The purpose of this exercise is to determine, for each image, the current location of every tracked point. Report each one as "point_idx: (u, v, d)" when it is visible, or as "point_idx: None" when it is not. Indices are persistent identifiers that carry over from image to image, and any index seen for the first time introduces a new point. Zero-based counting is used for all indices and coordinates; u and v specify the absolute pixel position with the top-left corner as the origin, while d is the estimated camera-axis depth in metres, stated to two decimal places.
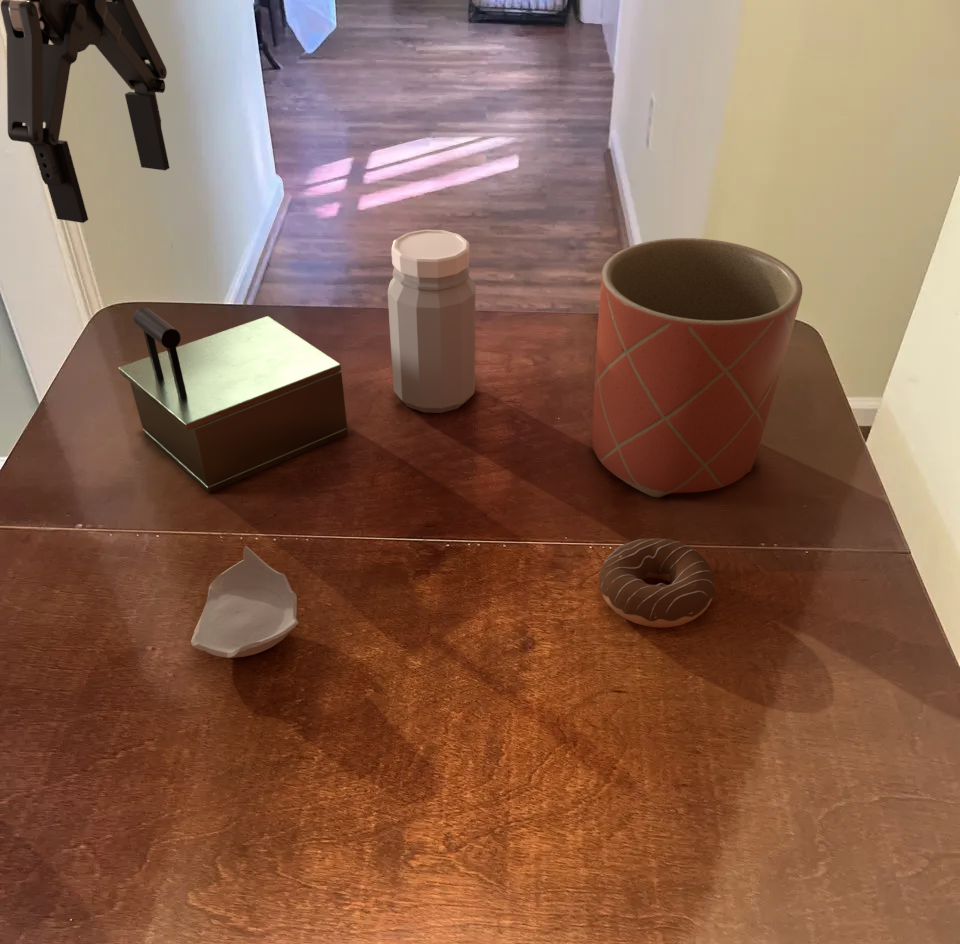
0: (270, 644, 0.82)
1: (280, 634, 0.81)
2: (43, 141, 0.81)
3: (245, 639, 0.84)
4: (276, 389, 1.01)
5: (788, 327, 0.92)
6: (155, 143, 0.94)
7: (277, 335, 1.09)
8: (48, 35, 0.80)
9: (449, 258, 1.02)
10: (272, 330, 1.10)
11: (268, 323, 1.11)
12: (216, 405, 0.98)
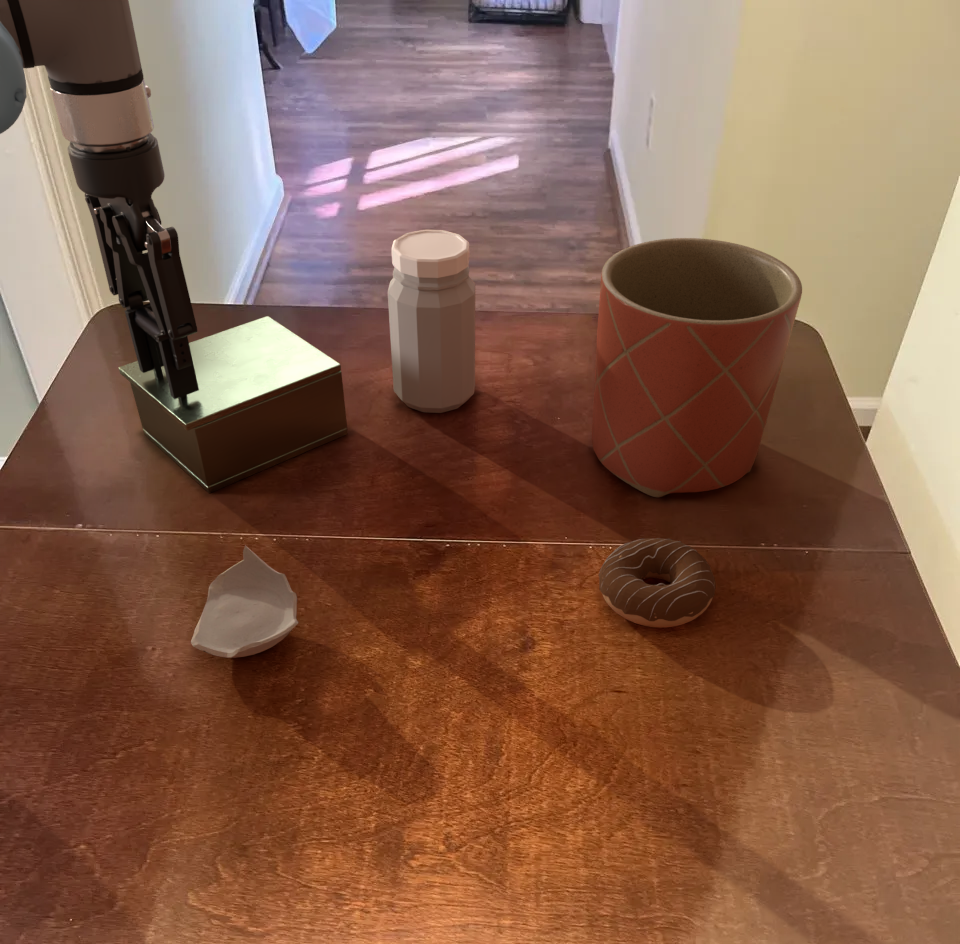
0: (270, 644, 0.82)
1: (280, 634, 0.81)
2: None
3: (245, 639, 0.84)
4: (276, 389, 1.01)
5: (788, 327, 0.92)
6: (157, 344, 1.01)
7: (277, 335, 1.09)
8: None
9: (449, 258, 1.02)
10: (272, 330, 1.10)
11: (268, 323, 1.11)
12: (216, 405, 0.98)
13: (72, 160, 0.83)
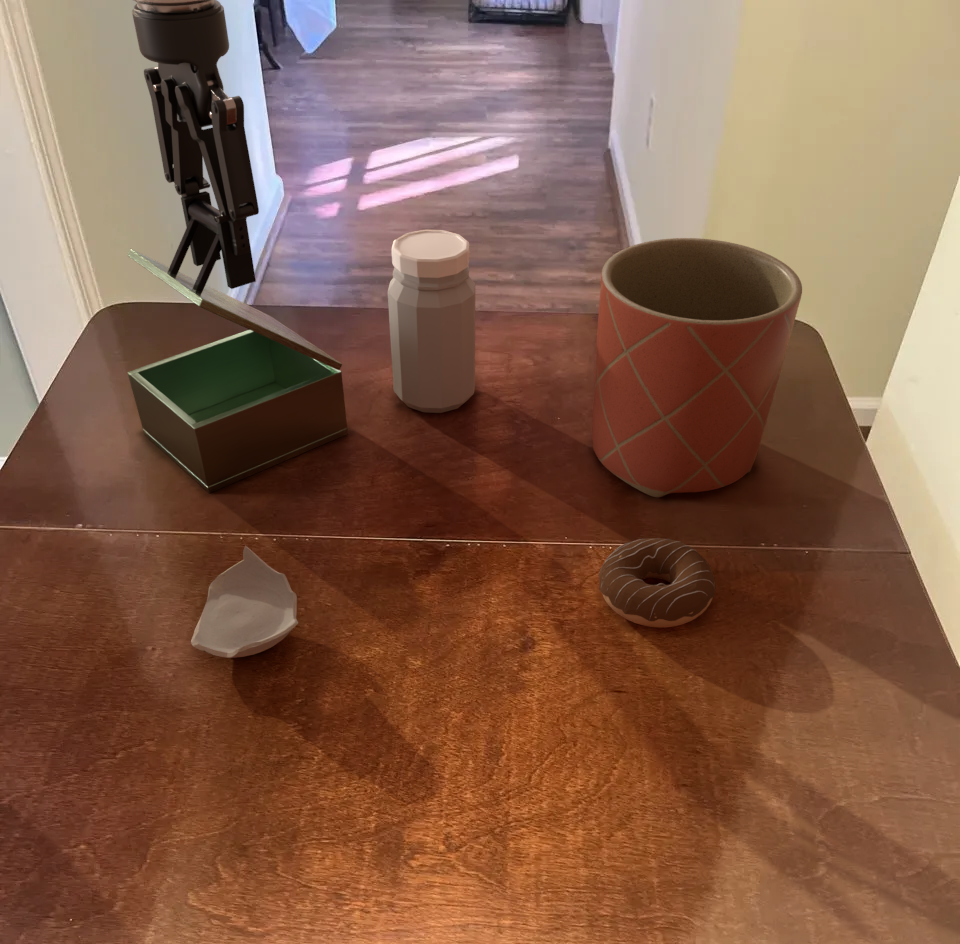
0: (270, 644, 0.82)
1: (280, 634, 0.81)
2: (245, 217, 0.91)
3: (245, 639, 0.84)
4: (286, 338, 0.98)
5: (788, 327, 0.92)
6: (212, 236, 0.98)
7: (281, 325, 1.09)
8: None
9: (449, 258, 1.02)
10: (275, 321, 1.10)
11: (271, 317, 1.11)
12: (231, 310, 0.94)
13: (137, 23, 0.81)
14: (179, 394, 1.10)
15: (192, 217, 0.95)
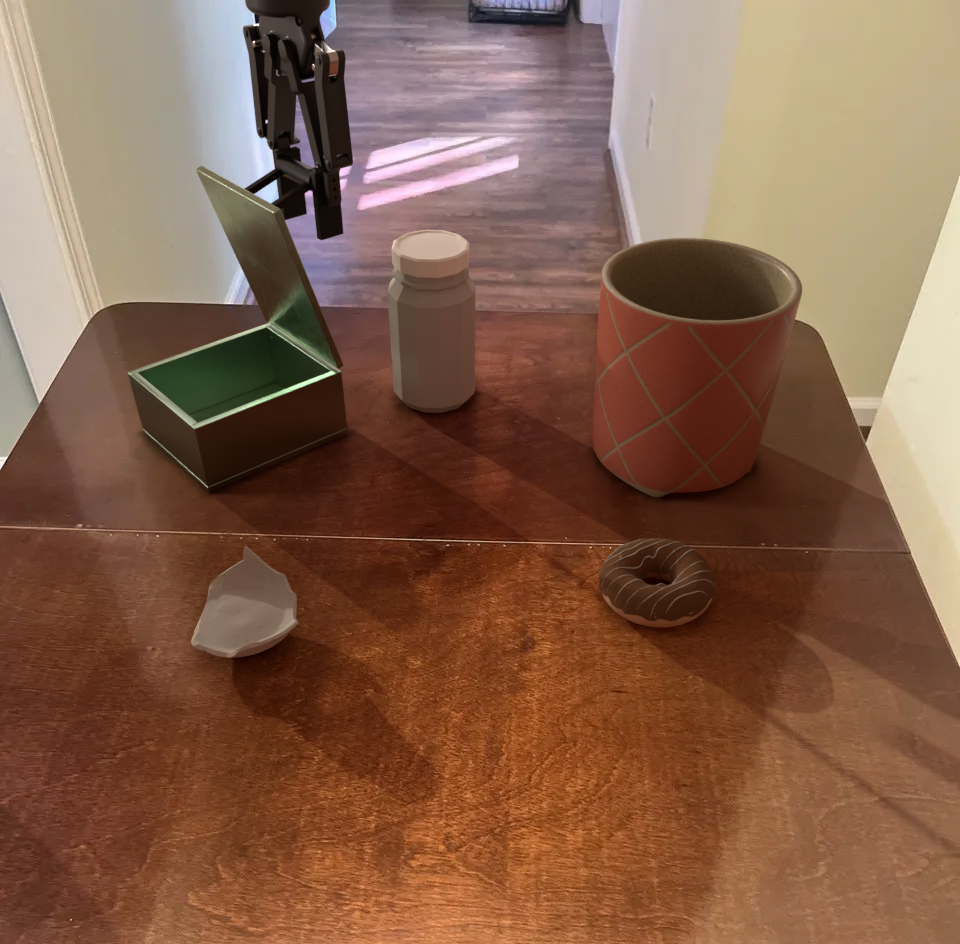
0: (270, 644, 0.82)
1: (280, 634, 0.81)
2: (339, 168, 0.95)
3: (245, 639, 0.84)
4: (317, 303, 0.99)
5: (788, 327, 0.92)
6: None
7: None
8: None
9: (449, 258, 1.02)
10: None
11: None
12: None
13: None
14: (179, 394, 1.10)
15: (279, 166, 0.98)
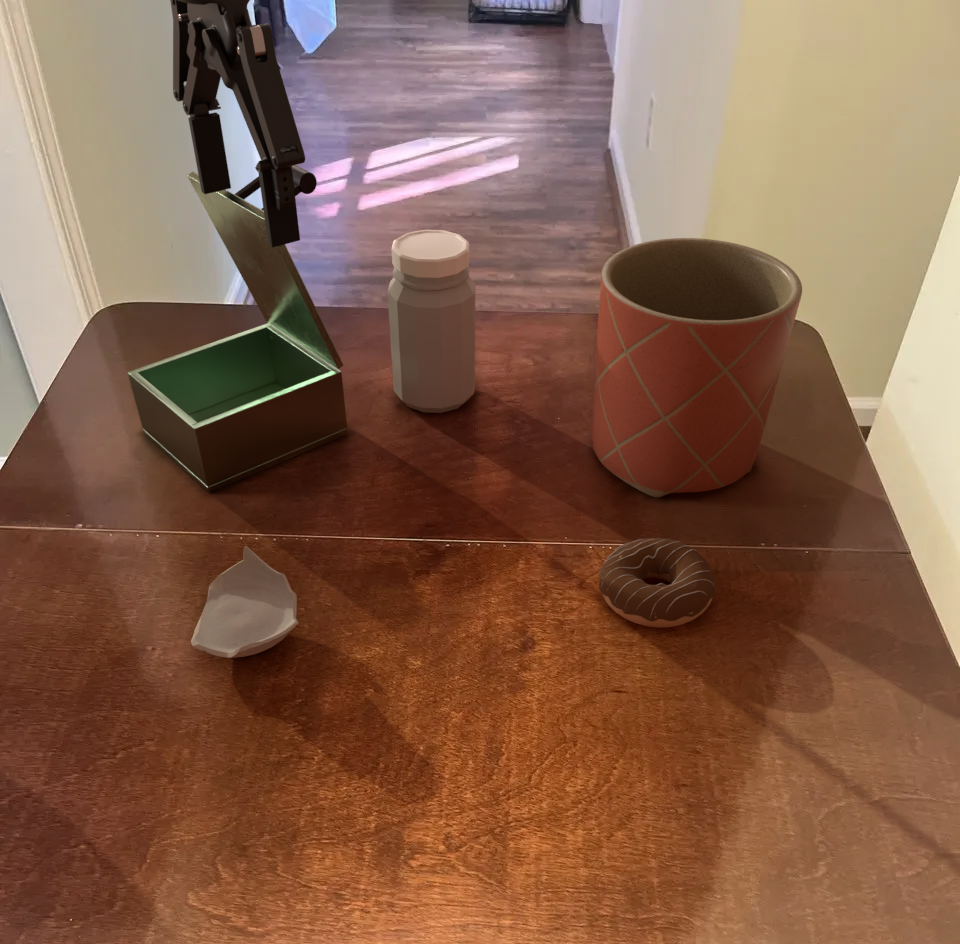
0: (270, 644, 0.82)
1: (280, 634, 0.81)
2: None
3: (245, 639, 0.84)
4: (314, 305, 0.98)
5: (788, 327, 0.92)
6: (222, 162, 0.92)
7: None
8: (234, 61, 0.78)
9: (449, 258, 1.02)
10: None
11: None
12: None
13: None
14: (179, 394, 1.10)
15: None
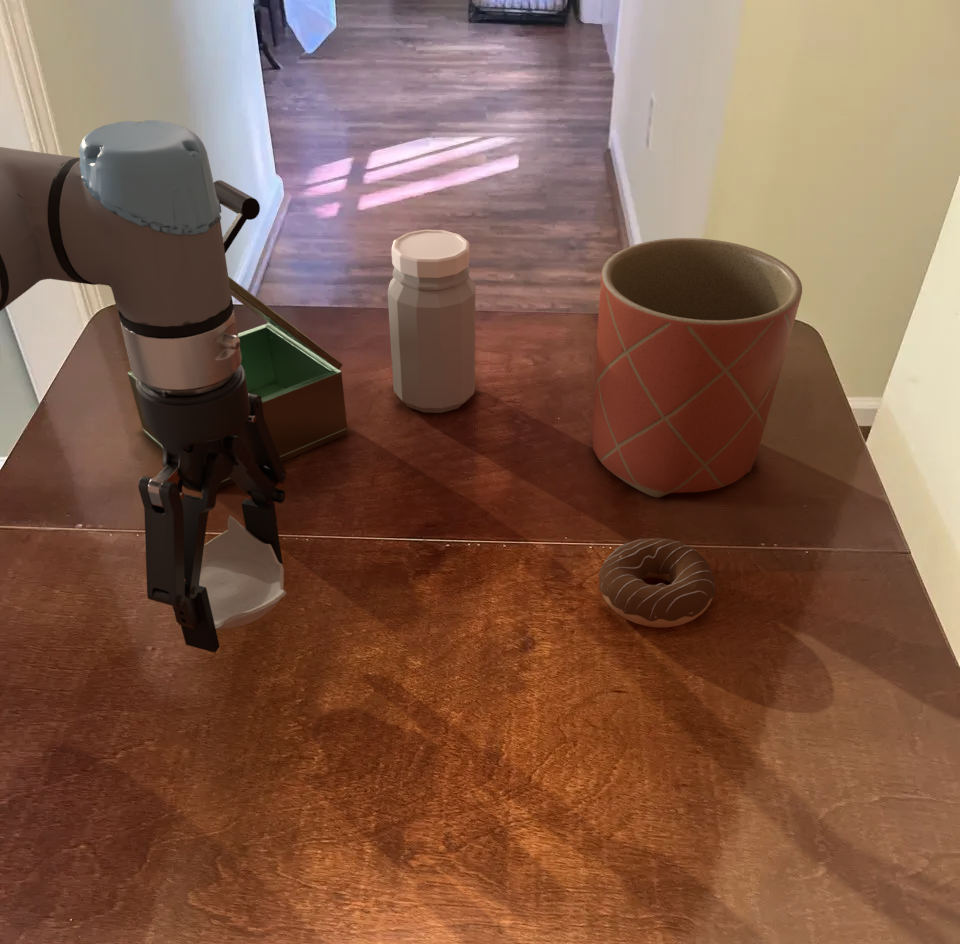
0: (257, 616, 0.79)
1: (267, 605, 0.78)
2: None
3: (230, 611, 0.81)
4: (293, 327, 0.98)
5: (788, 327, 0.92)
6: None
7: None
8: None
9: (449, 258, 1.02)
10: None
11: None
12: None
13: None
14: None
15: None
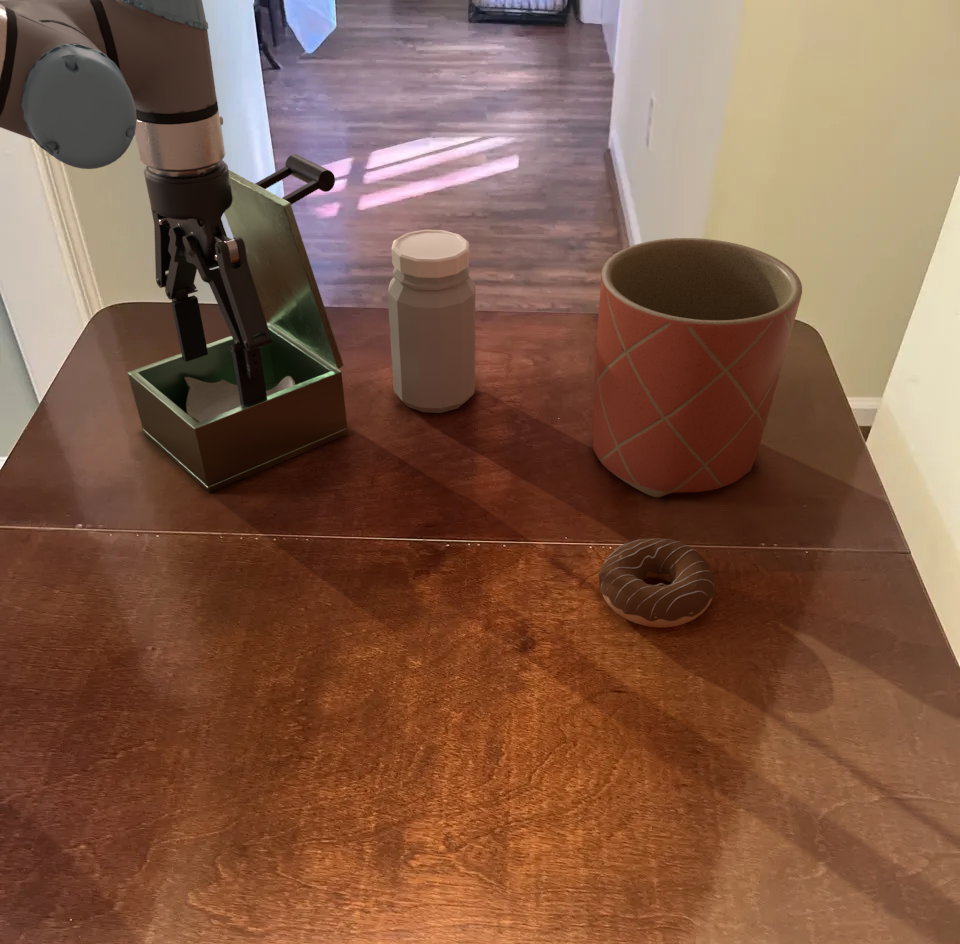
0: None
1: (294, 384, 1.07)
2: None
3: None
4: (321, 300, 0.99)
5: (788, 327, 0.92)
6: (200, 335, 1.06)
7: None
8: (210, 261, 0.93)
9: (449, 258, 1.02)
10: None
11: None
12: None
13: (149, 183, 0.89)
14: (179, 394, 1.10)
15: (289, 165, 0.99)
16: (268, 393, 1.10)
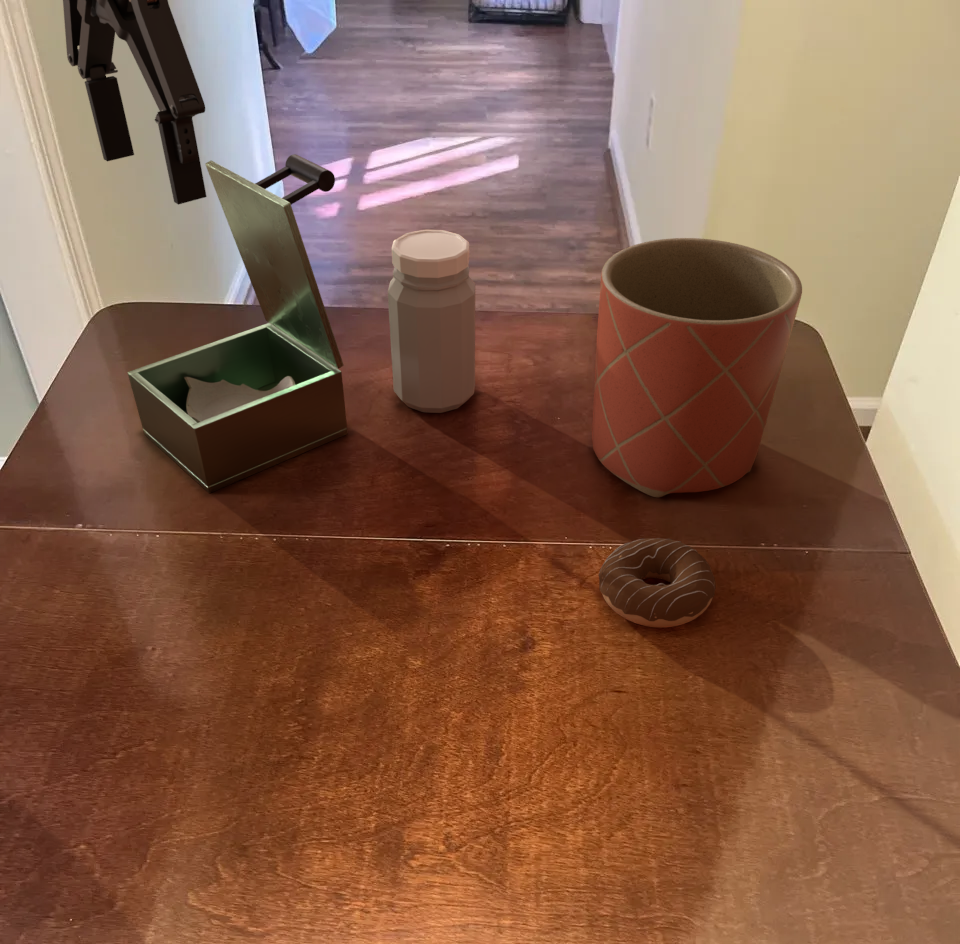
0: None
1: (294, 384, 1.08)
2: None
3: None
4: (321, 300, 0.99)
5: (788, 327, 0.92)
6: (123, 128, 0.90)
7: None
8: (126, 11, 0.77)
9: (449, 258, 1.02)
10: None
11: None
12: None
13: None
14: (179, 394, 1.10)
15: (289, 165, 0.99)
16: (268, 393, 1.10)
